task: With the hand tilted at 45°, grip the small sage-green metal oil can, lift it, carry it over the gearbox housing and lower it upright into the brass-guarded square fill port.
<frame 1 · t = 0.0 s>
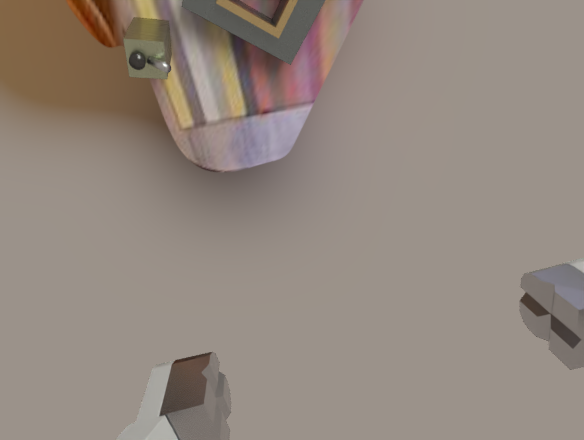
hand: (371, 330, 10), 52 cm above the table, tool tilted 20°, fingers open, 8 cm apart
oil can: (153, 36, 50), on the table
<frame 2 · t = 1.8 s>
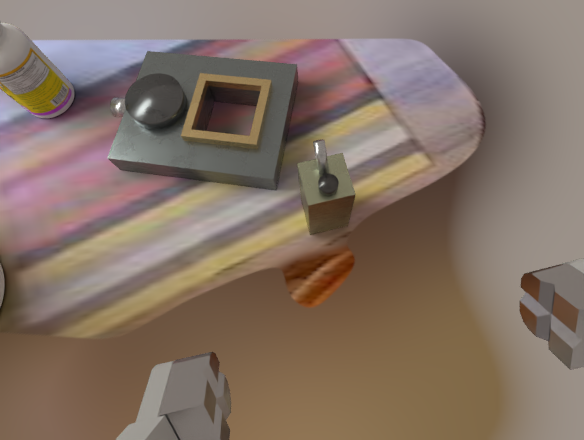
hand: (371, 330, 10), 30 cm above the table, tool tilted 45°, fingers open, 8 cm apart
gearbox: (211, 124, 47), on the table
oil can: (324, 212, 42), on the table
supplement bottle: (54, 101, 51), on the table
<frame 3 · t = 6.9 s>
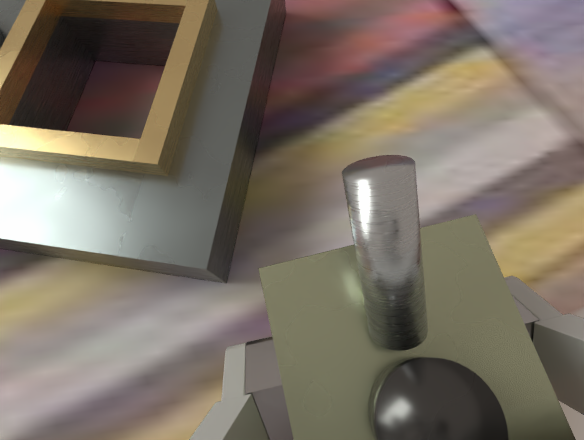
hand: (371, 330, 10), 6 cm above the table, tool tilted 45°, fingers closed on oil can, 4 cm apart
gearbox: (82, 111, 20), on the table
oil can: (357, 353, 15), on the table, touching gripper
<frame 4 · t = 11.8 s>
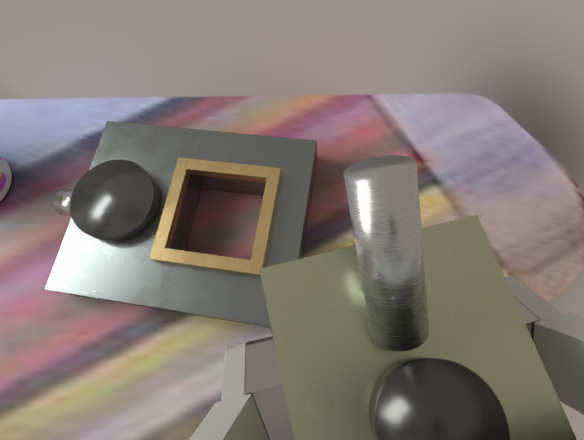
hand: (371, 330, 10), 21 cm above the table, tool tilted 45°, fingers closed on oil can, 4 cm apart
gearbox: (197, 223, 34), on the table
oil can: (358, 354, 15), point 15 cm above the table, touching gripper
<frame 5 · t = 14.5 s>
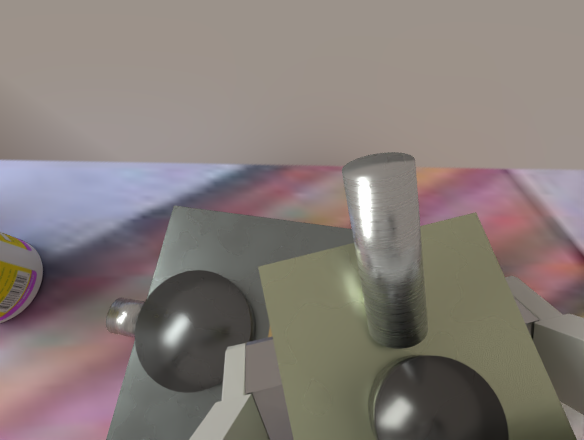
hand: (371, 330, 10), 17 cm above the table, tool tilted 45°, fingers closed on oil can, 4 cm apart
gearbox: (296, 346, 25), on the table
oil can: (357, 353, 15), point 11 cm above the table, touching gripper
supplement bottle: (7, 282, 29), on the table
when the fingers open (7 cm above the table, at t = 17.0 s): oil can drops 1 cm, resting in gearbox.
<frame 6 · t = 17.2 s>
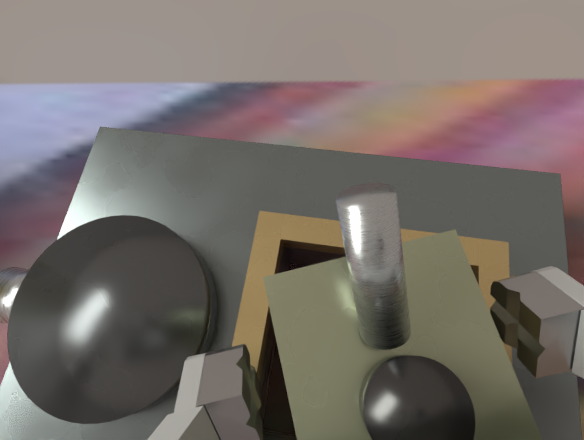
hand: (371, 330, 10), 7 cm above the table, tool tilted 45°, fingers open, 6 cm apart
gearbox: (287, 342, 16), on the table
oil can: (354, 353, 16), resting in gearbox
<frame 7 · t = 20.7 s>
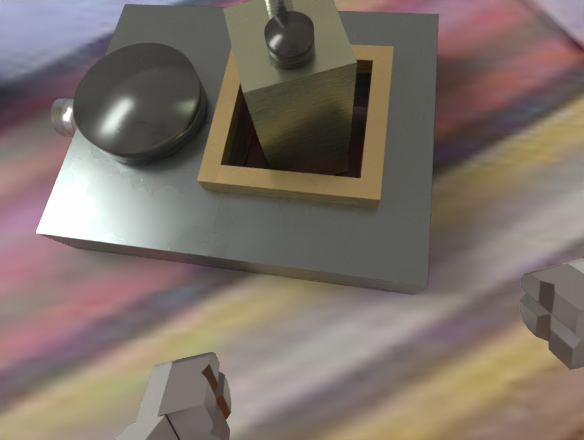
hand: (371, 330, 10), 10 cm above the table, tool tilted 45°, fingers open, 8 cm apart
gearbox: (257, 145, 23), on the table
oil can: (303, 150, 23), resting in gearbox
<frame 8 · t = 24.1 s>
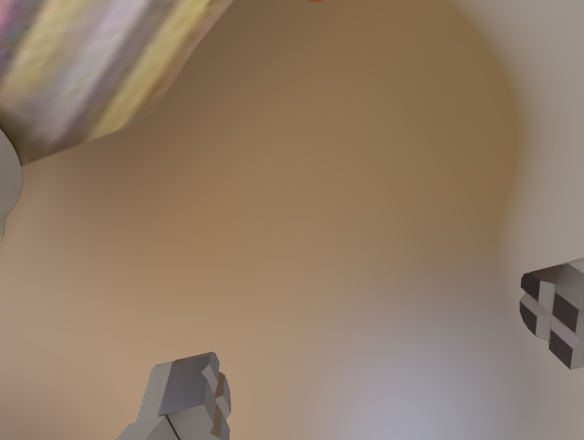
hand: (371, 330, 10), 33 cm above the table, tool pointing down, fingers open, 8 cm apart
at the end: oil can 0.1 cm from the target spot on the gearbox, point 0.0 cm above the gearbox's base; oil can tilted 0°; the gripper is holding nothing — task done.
